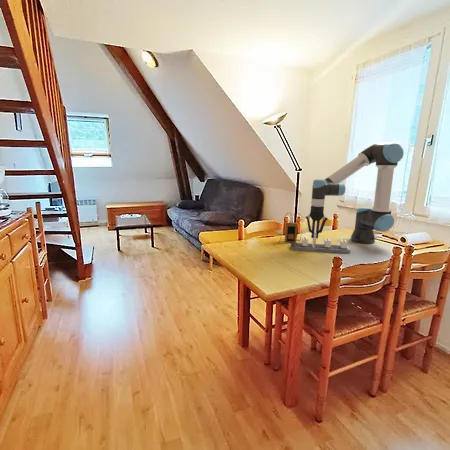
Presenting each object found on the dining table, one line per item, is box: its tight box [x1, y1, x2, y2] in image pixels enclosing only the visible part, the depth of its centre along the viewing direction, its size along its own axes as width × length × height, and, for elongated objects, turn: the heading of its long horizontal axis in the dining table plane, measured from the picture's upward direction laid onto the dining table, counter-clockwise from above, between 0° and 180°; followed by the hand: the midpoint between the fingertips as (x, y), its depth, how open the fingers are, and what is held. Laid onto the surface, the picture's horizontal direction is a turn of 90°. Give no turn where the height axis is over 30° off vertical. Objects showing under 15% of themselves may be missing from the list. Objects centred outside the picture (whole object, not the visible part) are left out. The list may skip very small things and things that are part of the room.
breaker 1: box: [301, 237, 309, 246], centre depth 180 cm, size 3×5×4 cm, turn 171°
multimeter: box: [279, 212, 303, 243], centre depth 196 cm, size 15×10×20 cm
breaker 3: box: [339, 239, 348, 249], centre depth 177 cm, size 3×5×4 cm, turn 171°
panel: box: [290, 242, 351, 254], centre depth 180 cm, size 34×10×2 cm, turn 81°
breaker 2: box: [323, 238, 332, 248], centre depth 178 cm, size 3×5×4 cm, turn 171°
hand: (314, 243), depth 179 cm, fingers closed
